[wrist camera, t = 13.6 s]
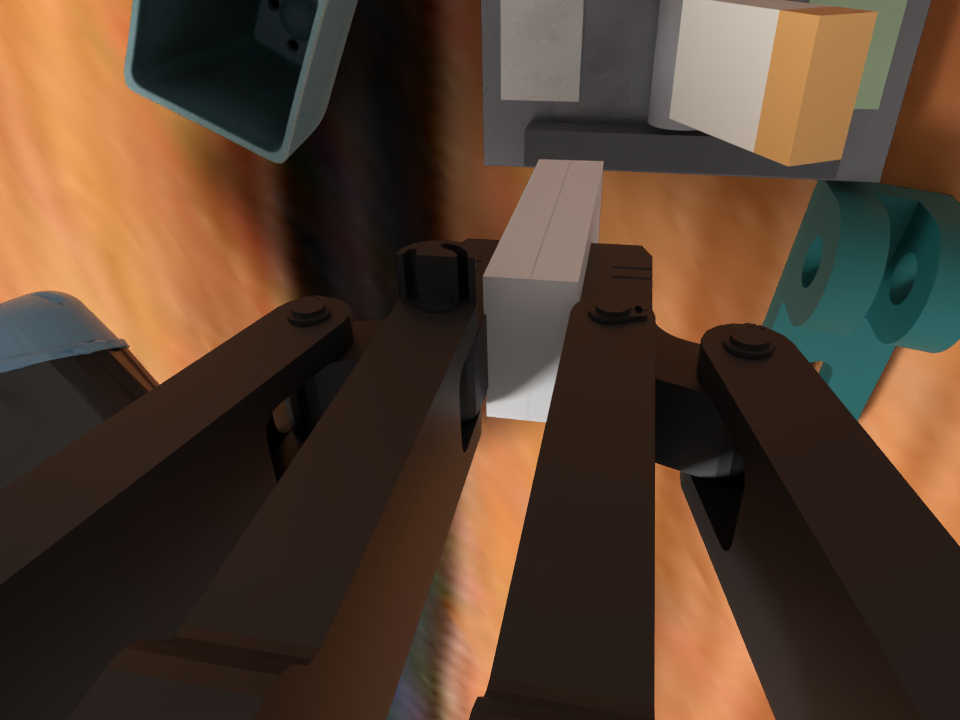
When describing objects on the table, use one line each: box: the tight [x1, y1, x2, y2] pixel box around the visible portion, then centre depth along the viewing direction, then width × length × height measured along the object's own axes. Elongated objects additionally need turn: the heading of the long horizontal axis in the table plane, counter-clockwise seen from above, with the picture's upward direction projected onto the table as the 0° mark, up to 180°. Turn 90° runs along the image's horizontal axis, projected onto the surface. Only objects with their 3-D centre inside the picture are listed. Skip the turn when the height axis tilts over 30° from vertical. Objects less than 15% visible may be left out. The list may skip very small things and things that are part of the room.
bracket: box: [762, 180, 960, 421], centre depth 40 cm, size 18×7×8 cm, turn 173°
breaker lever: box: [648, 0, 878, 167], centre depth 29 cm, size 3×6×10 cm, turn 2°
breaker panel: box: [481, 0, 931, 182], centre depth 35 cm, size 20×12×3 cm, turn 90°
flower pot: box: [124, 0, 358, 164], centre depth 36 cm, size 9×9×9 cm
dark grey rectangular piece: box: [524, 122, 841, 179], centre depth 33 cm, size 15×11×2 cm
